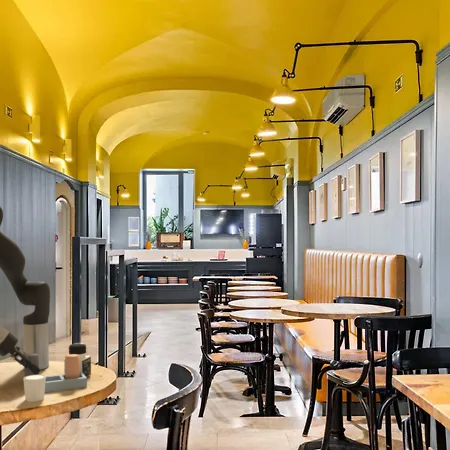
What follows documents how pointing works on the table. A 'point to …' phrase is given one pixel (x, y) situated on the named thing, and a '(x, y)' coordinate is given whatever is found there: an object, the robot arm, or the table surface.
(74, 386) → the grey compartment tray
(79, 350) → the medicine bottle
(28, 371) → the dark gray block
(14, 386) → the table surface
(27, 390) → the white cup
